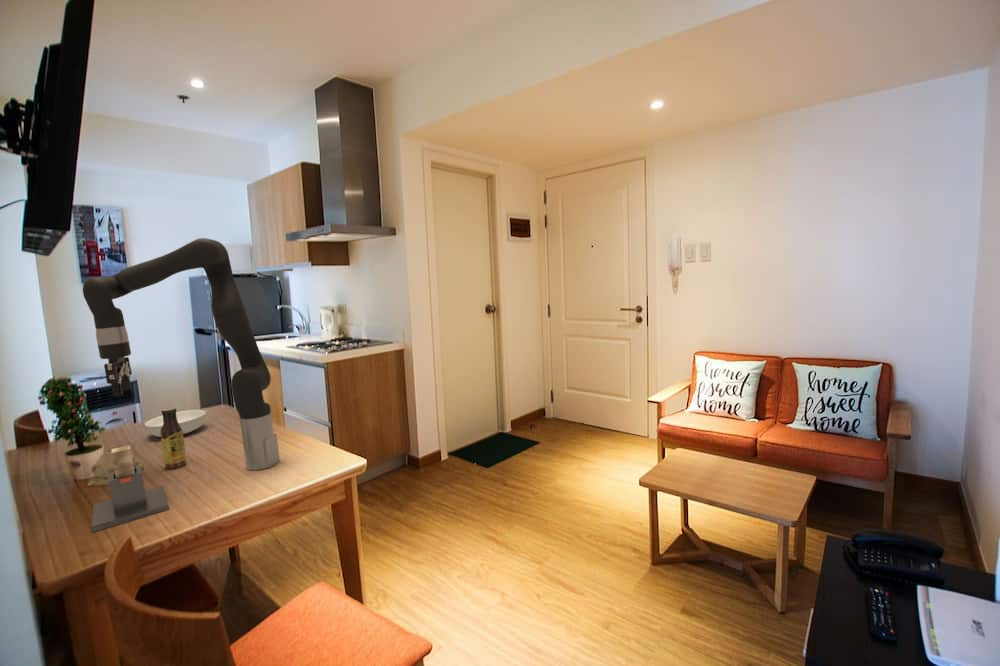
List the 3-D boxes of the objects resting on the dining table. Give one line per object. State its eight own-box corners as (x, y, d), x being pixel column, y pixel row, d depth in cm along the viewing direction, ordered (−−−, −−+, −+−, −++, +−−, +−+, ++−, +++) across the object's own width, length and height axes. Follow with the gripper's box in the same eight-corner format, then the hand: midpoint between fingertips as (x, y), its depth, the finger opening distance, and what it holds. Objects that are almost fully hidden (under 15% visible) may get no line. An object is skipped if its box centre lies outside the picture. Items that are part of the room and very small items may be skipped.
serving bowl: (166, 427, 205) (163, 412, 204) (217, 423, 207) (214, 407, 206) (135, 444, 184) (132, 427, 183) (191, 439, 186) (189, 423, 185)
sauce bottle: (175, 470, 156) (166, 412, 153) (160, 469, 157) (150, 412, 155) (192, 462, 163) (183, 406, 160) (177, 461, 164) (168, 406, 161)
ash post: (139, 498, 133) (130, 444, 131) (140, 503, 130) (130, 448, 128) (120, 503, 130) (111, 449, 128) (121, 509, 127) (111, 453, 125)
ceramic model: (107, 488, 145) (101, 457, 144) (80, 485, 148) (74, 455, 147) (150, 469, 159) (146, 440, 157) (125, 467, 162) (120, 439, 160)
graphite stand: (164, 490, 141) (158, 456, 140) (168, 509, 129) (163, 473, 128) (94, 509, 131) (88, 473, 130) (92, 532, 119) (85, 493, 118)
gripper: (120, 343, 140) (130, 395, 142) (135, 337, 153) (143, 386, 155) (89, 346, 137) (99, 400, 139) (106, 340, 150) (115, 390, 152)
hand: (122, 392), depth 147 cm, fingers open, 8 cm apart
